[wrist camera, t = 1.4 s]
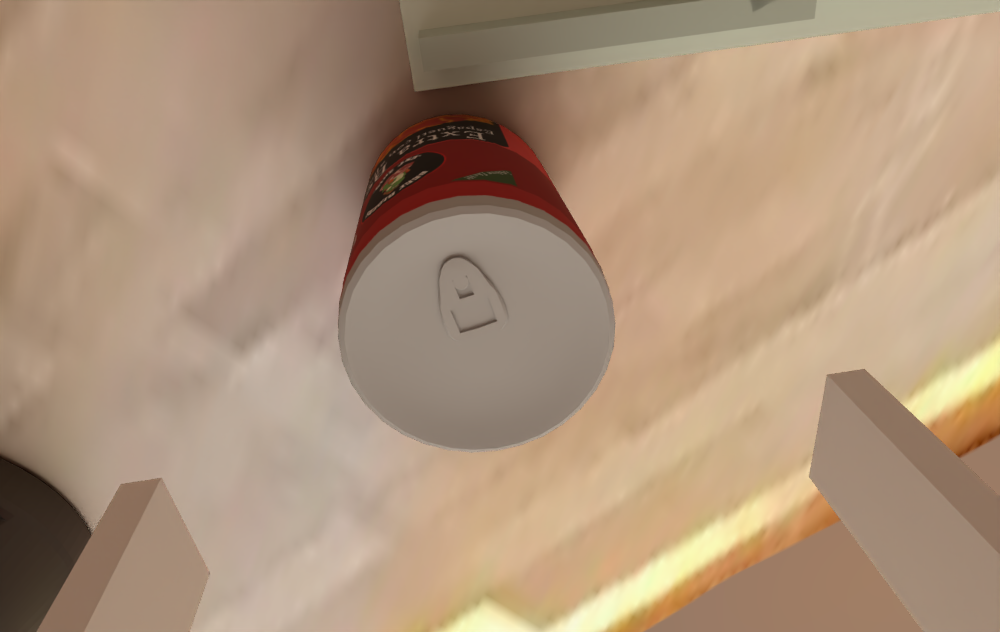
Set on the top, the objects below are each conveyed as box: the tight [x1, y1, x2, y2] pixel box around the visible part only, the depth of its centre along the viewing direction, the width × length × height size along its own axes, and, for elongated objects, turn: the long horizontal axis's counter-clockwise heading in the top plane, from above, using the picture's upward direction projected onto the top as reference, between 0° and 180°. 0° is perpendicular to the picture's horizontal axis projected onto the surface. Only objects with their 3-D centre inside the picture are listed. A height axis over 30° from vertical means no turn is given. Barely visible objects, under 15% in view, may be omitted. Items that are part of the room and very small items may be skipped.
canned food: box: [338, 115, 615, 452], centre depth 22 cm, size 8×8×11 cm
